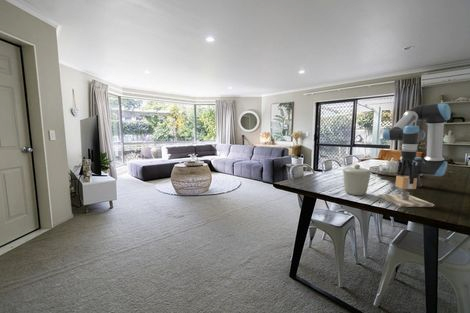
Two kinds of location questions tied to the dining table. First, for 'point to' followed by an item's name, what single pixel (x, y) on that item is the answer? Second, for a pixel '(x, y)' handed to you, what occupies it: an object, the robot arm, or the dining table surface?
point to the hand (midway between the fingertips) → (405, 187)
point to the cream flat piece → (405, 200)
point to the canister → (356, 180)
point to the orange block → (404, 182)
